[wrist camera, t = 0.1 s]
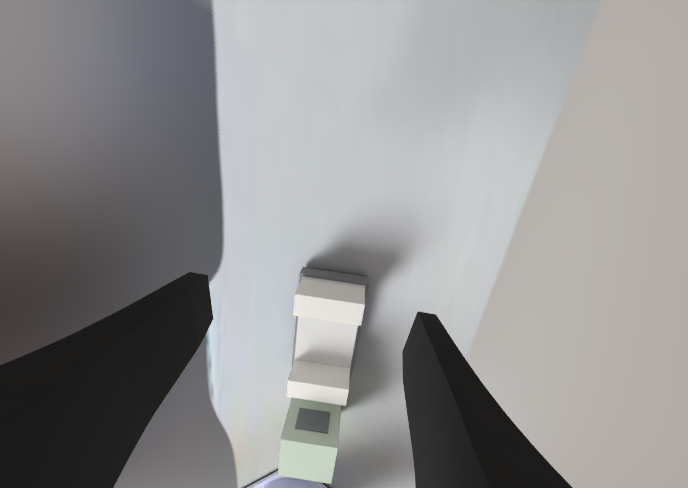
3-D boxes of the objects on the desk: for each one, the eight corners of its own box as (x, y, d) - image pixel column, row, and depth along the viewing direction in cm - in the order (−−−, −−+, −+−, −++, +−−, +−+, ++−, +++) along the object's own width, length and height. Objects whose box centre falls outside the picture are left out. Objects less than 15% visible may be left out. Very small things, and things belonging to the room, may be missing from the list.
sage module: (337, 415, 26) (331, 484, 21) (294, 408, 26) (277, 475, 21) (343, 382, 25) (338, 447, 19) (297, 375, 25) (280, 438, 19)
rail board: (350, 372, 24) (348, 408, 21) (294, 363, 24) (283, 398, 21) (367, 276, 21) (368, 302, 17) (302, 266, 21) (291, 290, 18)
